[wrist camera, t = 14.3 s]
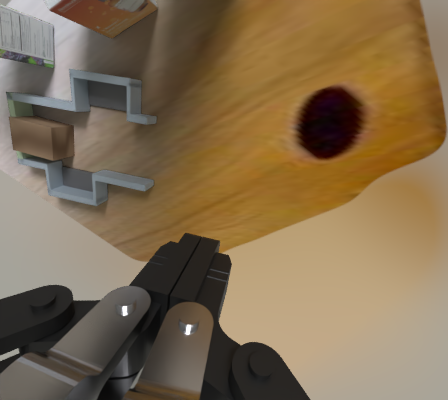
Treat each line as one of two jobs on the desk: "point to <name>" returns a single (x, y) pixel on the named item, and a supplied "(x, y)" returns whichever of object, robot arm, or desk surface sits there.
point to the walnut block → (42, 137)
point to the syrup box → (25, 38)
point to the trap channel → (81, 100)
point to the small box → (103, 13)
